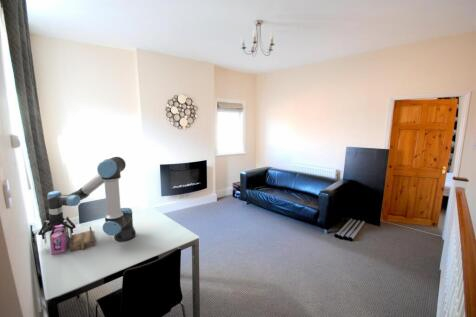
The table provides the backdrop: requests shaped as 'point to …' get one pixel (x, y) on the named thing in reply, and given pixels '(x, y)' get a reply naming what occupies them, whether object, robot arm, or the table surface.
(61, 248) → the gum box
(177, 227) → the table surface
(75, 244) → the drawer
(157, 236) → the table surface
